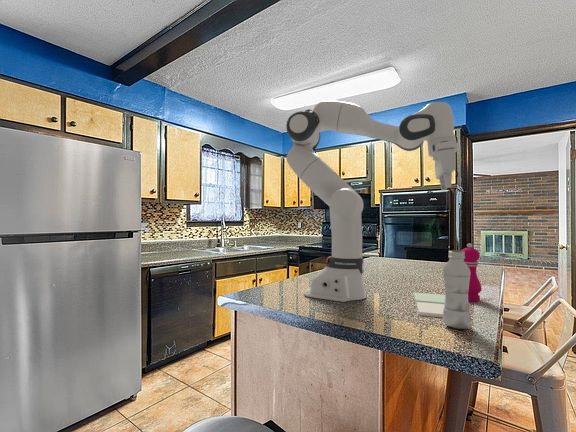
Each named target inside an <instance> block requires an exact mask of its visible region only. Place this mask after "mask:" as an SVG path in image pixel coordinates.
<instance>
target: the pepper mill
mask: <svg viewBox="0 0 576 432" xmlns="http://www.w3.org/2000/svg"><path fill="white" fill-rule="evenodd" d="M461 251H464V252H465V259H464V262H465V263H466V264H467V266H468V267H469V269H470V272H471V274H470V281H469V289H468V303H469V302H470V303H478V302H480V301H481V296H480V295H479V294H480V293H481V292H482V290H483V289H482V283H481V281H480V279H479V277H478V275H477V267H478V266H479V262H478V260H479V259H480V258H481V257H480V256H481V255H480V252H479V250H477V249H476V248H473V244H472V243H467V244H466V247H465V248H463V249H461Z"/></svg>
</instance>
